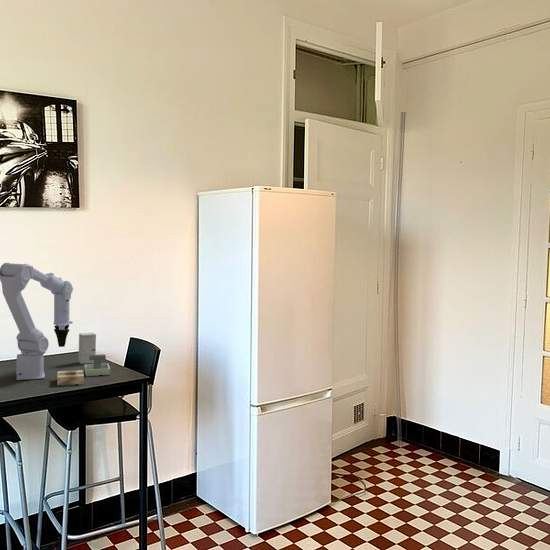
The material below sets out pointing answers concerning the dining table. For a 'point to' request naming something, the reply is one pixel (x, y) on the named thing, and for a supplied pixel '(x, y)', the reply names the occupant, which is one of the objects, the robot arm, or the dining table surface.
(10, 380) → the dining table surface
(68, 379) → the key block
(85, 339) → the skincare box
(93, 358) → the t key
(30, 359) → the robot arm
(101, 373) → the tray
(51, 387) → the dining table surface
